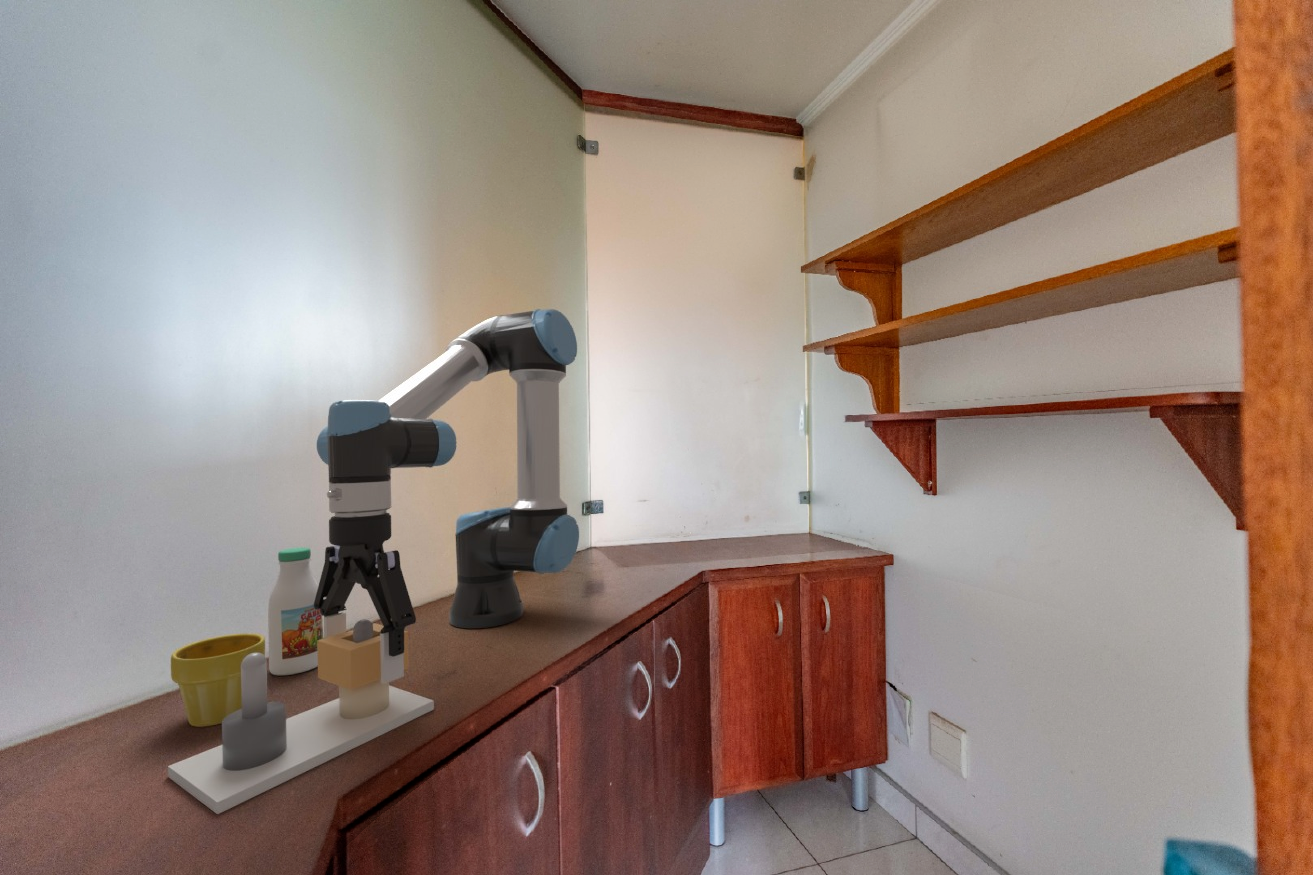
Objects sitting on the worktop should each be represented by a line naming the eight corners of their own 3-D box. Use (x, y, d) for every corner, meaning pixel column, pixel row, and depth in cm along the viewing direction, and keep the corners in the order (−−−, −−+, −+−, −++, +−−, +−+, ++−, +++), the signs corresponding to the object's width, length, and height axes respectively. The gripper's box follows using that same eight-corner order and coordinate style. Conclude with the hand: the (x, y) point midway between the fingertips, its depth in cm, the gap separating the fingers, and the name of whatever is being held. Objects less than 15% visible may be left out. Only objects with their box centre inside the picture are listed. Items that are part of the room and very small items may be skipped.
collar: (375, 657, 80) (374, 623, 81) (408, 667, 76) (408, 631, 76) (317, 678, 74) (317, 640, 74) (351, 690, 69) (350, 650, 70)
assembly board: (379, 689, 83) (377, 602, 84) (433, 709, 77) (431, 613, 77) (168, 776, 62) (166, 659, 62) (217, 814, 55) (215, 682, 55)
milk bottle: (261, 679, 89) (258, 555, 89) (279, 662, 96) (277, 547, 96) (315, 672, 91) (313, 551, 91) (329, 656, 98) (326, 543, 99)
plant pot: (280, 707, 79) (279, 638, 79) (191, 742, 70) (189, 664, 70) (245, 692, 84) (244, 628, 84) (158, 723, 75) (157, 651, 75)
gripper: (285, 512, 79) (286, 662, 78) (389, 520, 66) (391, 700, 65) (338, 507, 85) (340, 646, 84) (442, 513, 72) (445, 677, 71)
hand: (362, 670), depth 75 cm, fingers open, 13 cm apart
